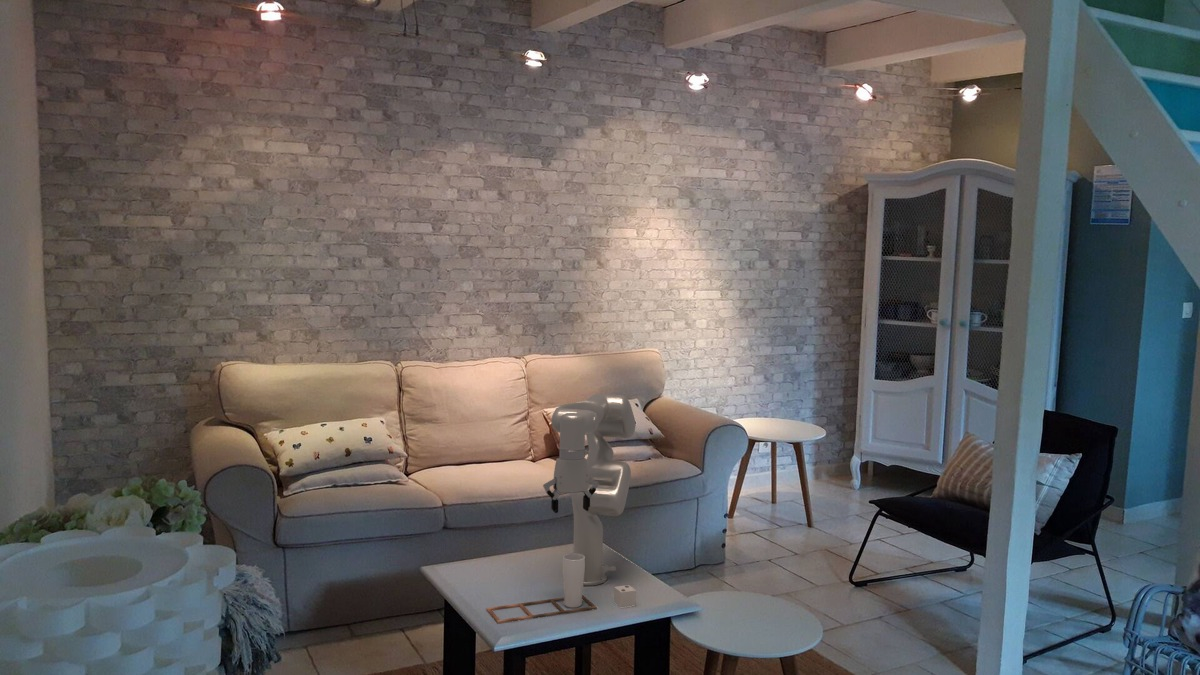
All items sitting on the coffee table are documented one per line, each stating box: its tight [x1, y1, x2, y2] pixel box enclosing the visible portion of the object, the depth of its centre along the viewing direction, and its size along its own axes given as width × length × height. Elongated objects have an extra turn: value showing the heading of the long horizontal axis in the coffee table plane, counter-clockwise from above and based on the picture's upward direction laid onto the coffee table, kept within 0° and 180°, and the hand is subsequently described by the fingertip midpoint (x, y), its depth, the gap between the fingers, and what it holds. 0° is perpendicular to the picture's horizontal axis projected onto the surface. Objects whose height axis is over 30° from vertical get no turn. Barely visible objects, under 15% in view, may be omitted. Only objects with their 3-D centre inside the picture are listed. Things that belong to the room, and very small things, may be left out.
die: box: [613, 584, 637, 608], centre depth 276 cm, size 5×5×5 cm
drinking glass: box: [561, 553, 585, 609], centre depth 274 cm, size 7×7×15 cm
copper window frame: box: [485, 594, 598, 624], centre depth 271 cm, size 31×11×1 cm, turn 114°
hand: (570, 510), depth 273 cm, fingers open, 9 cm apart
